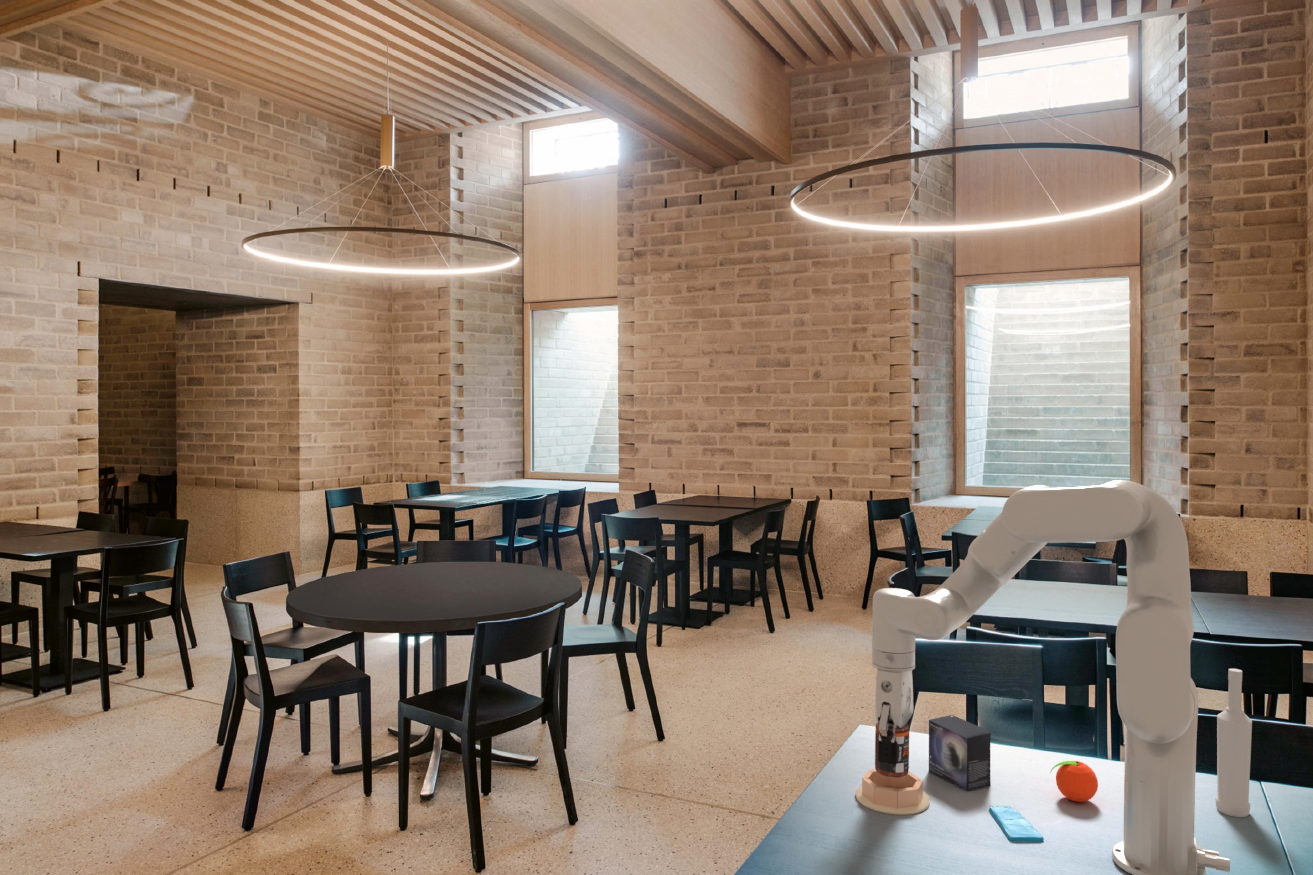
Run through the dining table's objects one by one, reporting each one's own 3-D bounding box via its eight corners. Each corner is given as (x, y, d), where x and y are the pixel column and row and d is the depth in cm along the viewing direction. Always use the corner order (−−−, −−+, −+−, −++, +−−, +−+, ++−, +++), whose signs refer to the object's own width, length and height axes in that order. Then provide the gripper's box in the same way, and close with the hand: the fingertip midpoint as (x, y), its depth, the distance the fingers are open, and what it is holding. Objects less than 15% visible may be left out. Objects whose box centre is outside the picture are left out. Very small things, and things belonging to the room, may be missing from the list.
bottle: (1216, 813, 157) (1219, 671, 156) (1214, 802, 162) (1216, 664, 161) (1251, 820, 155) (1254, 675, 154) (1248, 808, 159) (1251, 668, 158)
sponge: (1021, 806, 159) (988, 801, 159) (1047, 839, 147) (1010, 833, 147) (1020, 815, 159) (987, 810, 159) (1045, 848, 147) (1009, 842, 147)
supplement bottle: (910, 780, 160) (910, 717, 159) (875, 777, 161) (876, 714, 160) (907, 767, 165) (908, 706, 165) (874, 764, 167) (874, 703, 166)
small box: (925, 771, 176) (926, 718, 175) (951, 765, 178) (952, 713, 178) (965, 792, 166) (966, 736, 166) (992, 786, 169) (992, 730, 168)
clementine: (1053, 805, 160) (1053, 766, 160) (1046, 789, 167) (1046, 751, 167) (1101, 810, 158) (1102, 770, 158) (1092, 793, 165) (1093, 755, 165)
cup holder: (936, 792, 166) (936, 773, 166) (921, 820, 154) (921, 800, 154) (866, 778, 172) (866, 760, 172) (846, 805, 161) (847, 785, 160)
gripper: (903, 673, 153) (902, 777, 154) (924, 649, 168) (923, 744, 169) (859, 667, 157) (858, 769, 157) (884, 644, 172) (883, 737, 172)
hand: (892, 755), depth 163 cm, fingers closed on supplement bottle, 6 cm apart
